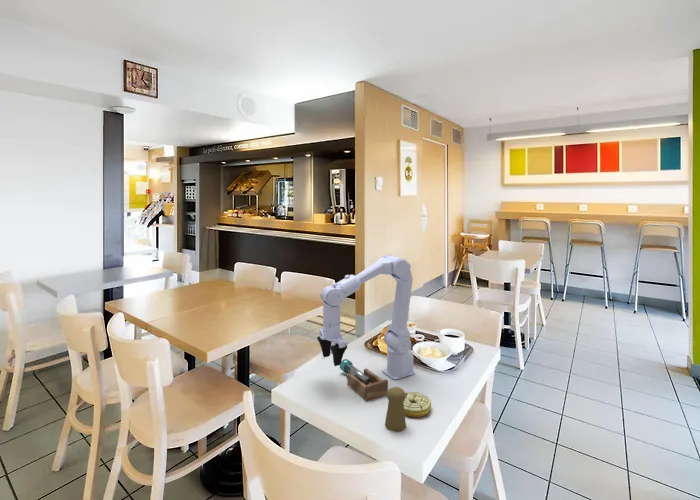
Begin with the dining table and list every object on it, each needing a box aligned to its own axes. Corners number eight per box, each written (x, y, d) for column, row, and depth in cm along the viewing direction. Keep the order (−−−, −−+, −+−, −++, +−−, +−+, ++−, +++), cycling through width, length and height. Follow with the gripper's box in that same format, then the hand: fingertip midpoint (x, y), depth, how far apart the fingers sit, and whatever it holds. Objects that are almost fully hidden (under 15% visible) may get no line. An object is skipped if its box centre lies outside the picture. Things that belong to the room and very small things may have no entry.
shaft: (339, 371, 140) (339, 360, 139) (349, 369, 142) (349, 357, 141) (360, 389, 127) (361, 376, 127) (371, 385, 130) (371, 373, 129)
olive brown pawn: (405, 433, 105) (406, 396, 103) (383, 430, 106) (384, 393, 105) (406, 420, 111) (407, 385, 109) (386, 417, 112) (386, 383, 110)
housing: (347, 384, 131) (347, 371, 131) (366, 378, 136) (366, 365, 135) (367, 401, 121) (367, 387, 120) (387, 395, 125) (388, 380, 124)
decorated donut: (401, 397, 124) (401, 386, 124) (434, 405, 120) (434, 394, 119) (391, 413, 115) (391, 402, 114) (425, 422, 110) (426, 410, 110)
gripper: (311, 318, 130) (311, 355, 132) (331, 331, 118) (331, 372, 120) (329, 314, 134) (329, 351, 136) (351, 327, 121) (350, 366, 124)
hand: (331, 360), depth 128 cm, fingers open, 7 cm apart
